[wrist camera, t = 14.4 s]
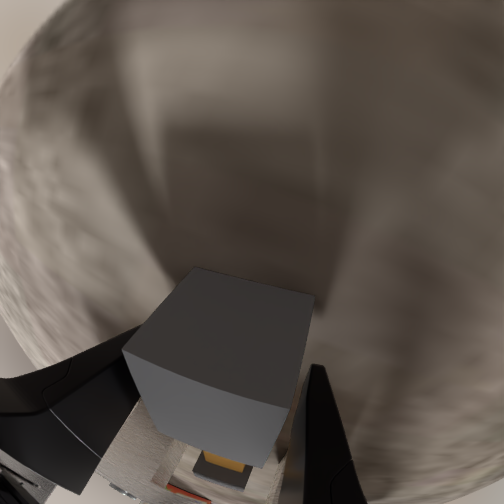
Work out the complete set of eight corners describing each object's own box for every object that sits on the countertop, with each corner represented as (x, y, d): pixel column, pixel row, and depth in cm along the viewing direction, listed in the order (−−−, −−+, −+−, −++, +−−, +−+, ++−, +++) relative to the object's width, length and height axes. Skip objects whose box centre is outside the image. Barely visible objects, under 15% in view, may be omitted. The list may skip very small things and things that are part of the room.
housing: (322, 472, 15) (300, 551, 9) (153, 420, 18) (112, 486, 12) (340, 457, 13) (316, 553, 7) (142, 398, 16) (90, 473, 10)
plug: (261, 454, 15) (244, 500, 12) (208, 438, 16) (187, 481, 13) (315, 295, 8) (290, 409, 5) (194, 267, 9) (121, 349, 6)
